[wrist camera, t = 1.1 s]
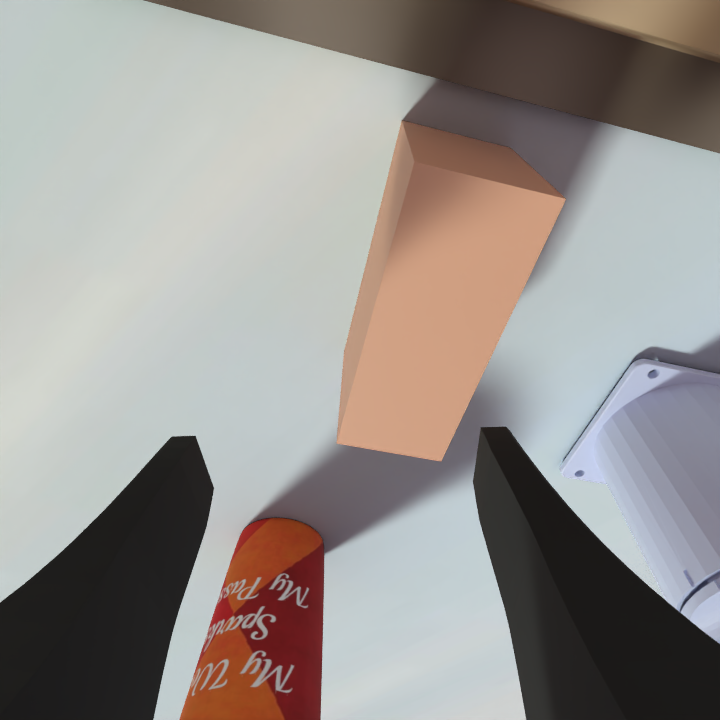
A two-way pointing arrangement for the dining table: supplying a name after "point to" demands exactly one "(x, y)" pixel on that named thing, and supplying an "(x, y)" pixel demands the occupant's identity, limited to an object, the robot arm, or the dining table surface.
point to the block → (438, 287)
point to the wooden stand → (527, 51)
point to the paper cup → (265, 630)
